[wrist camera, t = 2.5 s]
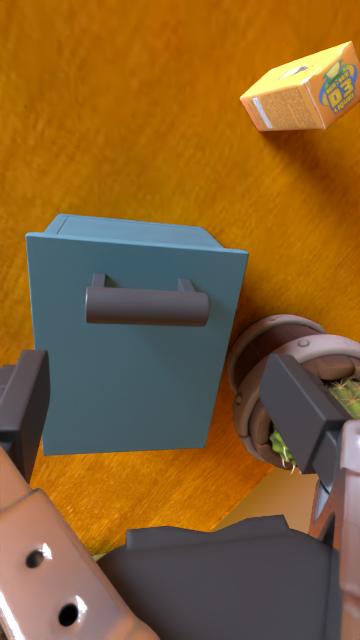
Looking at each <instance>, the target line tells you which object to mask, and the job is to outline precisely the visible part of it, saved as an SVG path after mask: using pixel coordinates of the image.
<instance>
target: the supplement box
mask: <svg viewBox="0 0 360 640" xmlns="http://www.w3.org/2000/svg"><path fill="white" fill-rule="evenodd" d="M240 100H241V102H242V104H243V105H244V107H245V109H246V110H247V112H248V114H249V115H250V117H251V119H252V121H253V122H254V124H255V126H256V128H257V129H258V131H282V130H309V129H327V128H329V127H330V126H331V125H332V124H333V123H335V122H336V121H337V120H338V119H339V118H341V117H342V116H343V115H344V114H345V113H347V112H348V111H349V110H350V109H351V108H353V107H354V106H355V105H356V104H357V103H358V102H360V64H359V61H358V58H357V55H356V52H355V49H354V47H353V44H352V42H351V41H350V42H347V43H345V44H342V45H339V46H336V47H333V48H330V49H327V50H324V51H322V52H319V53H316V54H313V55H310V56H307V57H305V58H302V59H299V60H296V61H293V62H290V63H288V64H285V65H282V66H280V67H277V68H274V69H272V70H270V71H269V72H268V73H266V74H265V75H264V76H263V77H262V78H261V79H260V80H259V81H257V82H256V83H255V84H254V85H253V86H252V87H251V88H250V89H249V90H248V91H247V92H245V93H244V94H243V95H242V96H241V98H240Z"/></svg>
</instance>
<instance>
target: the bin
mask: <svg viewBox="0 0 360 640" xmlns="http://www.w3.org/2000/svg"><path fill="white" fill-rule="evenodd" d="M44 233H48V234H60V235H72V236H84V237H96V238H108V239H120V240H132V241H144V242H156V243H167V244H179V245H191V246H203V247H215V248H223V247H222V246H221V245H220V244H219V243H218V242H217V241H216V240H215V239H214V238H213V237H212V236H211V235H210V234H209V233H208V232H207V231H206V230H205V229H204V228H203V227H194V226H184V225H173V224H163V223H153V222H142V221H132V220H122V219H111V218H101V217H90V216H80V215H70V214H58V215H57V216H56V217H55V219H54V220H53V221H52V222H51V224H50V225H49V226H48V228H47V229H46V230H45V231H44Z"/></svg>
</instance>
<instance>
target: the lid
mask: <svg viewBox="0 0 360 640" xmlns="http://www.w3.org/2000/svg"><path fill="white" fill-rule="evenodd" d="M26 246H27V259H28V271H29V283H30V296H31V308H32V320H33V333H34V345H35V350H47V351H48V355H49V370H50V386H51V394H50V403H49V408H48V412H47V416H46V420H45V424H44V428H43V432H42V443H43V455H44V456H47V455H67V454H87V453H107V452H128V451H148V450H168V449H189V448H205V445H206V441H207V437H208V432H209V428H210V423H211V419H212V415H213V410H214V406H215V401H216V397H217V393H218V388H219V384H220V379H221V375H222V371H223V366H224V362H225V357H226V353H227V349H228V344H229V340H230V335H231V331H232V326H233V322H234V318H235V313H236V309H237V304H238V300H239V296H240V291H241V287H242V282H243V278H244V274H245V269H246V265H247V260H248V256H249V253H248V252H247V251H245V250H239V249H227V248H215V247H203V246H191V245H179V244H167V243H156V242H144V241H132V240H120V239H108V238H96V237H84V236H72V235H60V234H48V233H36V232H29V233H28V234H27V235H26Z"/></svg>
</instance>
